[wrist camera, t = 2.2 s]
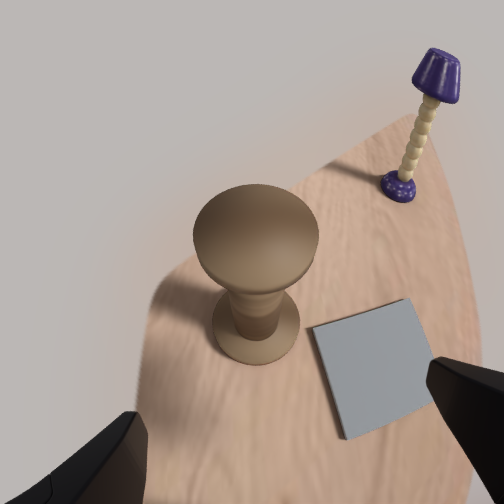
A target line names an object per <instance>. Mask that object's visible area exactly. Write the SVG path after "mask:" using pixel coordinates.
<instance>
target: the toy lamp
mask: <svg viewBox="0 0 504 504" xmlns="http://www.w3.org/2000/svg"><path fill="white" fill-rule="evenodd" d="M412 83H413V84H414V86H415V87H416V88H417V89H418V90H420V91H422V92H423V93H424V94H423V103H422V104H421V106H420V108H419V116H418V117H417V118H416V120H415V123H414V129H413V130H412V132H411V134H410V141H409V142H408V144H407V146H406V153H405V154H404V156H403V158H402V164H401V165H400V167H399V169H398V170H394V171H390V172H388V173H387V174H386V175H385V176H384V177H383V178H382V180H381V187H382V189H383V191H384V192H385V194H386V195H387V196H389V197H390V198H391V199H393V200H395V201H398V202H410V201H412V200H413V199H414V197H415V194H416V186H415V183H414V181H413V179H412V176H413V171H414V169H415V168H416V166H417V163H418V158H419V157H420V156H421V154H422V147H423V146H424V145H425V143H426V140H427V134H428V133H429V131H430V130H431V122H432V121H433V120H434V118H435V116H436V108H437V107H438V106H439V104H440V102H445V103H449V104H455V103H456V102H457V101H458V100H459V92H460V62H459V60H458V59H457V58H455V57H454V56H453V55H451V54H449V53H446V52H445V51H442V50H440V49H436V48H430V49H429V50H428V51H427V53H426V54H425V56H424V58H423V59H422V61H421V63H420V64H419V66H418V68H417V69H416V71H415V73H414V75H413V77H412Z"/></svg>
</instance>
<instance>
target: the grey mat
mask: <svg viewBox="0 0 504 504" xmlns="http://www.w3.org/2000/svg"><path fill="white" fill-rule="evenodd" d="M312 332H313V335H314V338H315V341H316V344H317V347H318V350H319V354H320V357H321V360H322V363H323V366H324V369H325V373H326V376H327V379H328V382H329V386H330V389H331V392H332V396H333V399H334V402H335V406H336V409H337V412H338V416H339V419H340V422H341V426H342V429H343V433H344V436H345V440H350V439H352V438H355V437H358V436H360V435H363V434H365V433H368V432H370V431H372V430H375V429H377V428H379V427H382V426H384V425H386V424H388V423H391V422H393V421H395V420H397V419H399V418H401V417H403V416H405V415H407V414H409V413H411V412H413V411H415V410H417V409H419V408H421V407H423V406H425V405H427V404H429V403H430V402H432V401H434V400H433V398H432V396H431V394H430V392H429V390H428V388H427V386H426V376H427V372H428V367H429V363H430V361H431V360H432V359H434V357H433V354H432V351H431V349H430V346H429V343H428V341H427V338H426V336H425V333H424V331H423V328H422V326H421V323H420V321H419V318H418V316H417V314H416V311H415V309H414V307H413V304H412V302H411V300H410V298H407V299H404V300H402V301H399V302H396V303H393V304H390V305H387V306H384V307H381V308H378V309H375V310H372V311H369V312H366V313H362V314H359V315H356V316H353V317H349V318H346V319H343V320H339V321H336V322H333V323H329V324H326V325H322V326H318V327H315V328H313V329H312Z"/></svg>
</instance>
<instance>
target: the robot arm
mask: <svg viewBox="0 0 504 504" xmlns="http://www.w3.org/2000/svg"><path fill="white" fill-rule="evenodd" d="M426 386H427V388H428V390H429V392H430V394H431V396H432V398H433V400H434V402H435V404H436V406H437V408H438V410H439V412H440V414H441V415H442V417H443V419H444V421H445V422H446V424H447V426H448V427H449V429H450V430H451V432H452V433H453V435H454V436H455V438H456V439H457V441H458V443H459V444H460V446H461V447H462V449H463V451H464V452H465V454H466V455H467V457H468V459H469V460H470V462H471V464H472V465H473V467H474V469H475V470H476V472H477V474H478V475H479V477H480V479H481V480H482V482H483V484H484V485H485V487H486V489H487V491H488V492H489V494H490V496H491V498H492V500H493V501H494V503H496V504H504V373H503V372H499V371H495V370H491V369H487V368H483V367H479V366H475V365H471V364H468V363H464V362H460V361H456V360H453V359H449V358H446V357H438V358H435V359H432V360H431V361H430V363H429V367H428V372H427V376H426ZM147 448H148V433H147V429H146V427H145V425H144V423H143V421H142V418H141V416H140V414H139V413H138V412H135V411H126V412H124V413H122V414H121V415H120V416H119V417H118V418H116V419H115V420H114V421H113V422H112V423H111V424H109V425H108V426H107V427H106V428H105V429H103V430H102V431H101V432H100V433H99V434H97V435H96V436H95V437H94V438H93V439H92V440H90V441H89V442H88V443H87V444H85V446H83V447H82V448H81V449H79V450H78V451H77V452H76V453H75V454H73V455H72V456H71V457H70V458H68V459H67V460H66V461H65V462H63V463H62V464H61V465H60V466H58V467H57V468H56V469H55V470H53V471H52V472H51V473H50V474H48V475H47V476H46V477H44V478H43V479H42V480H41V481H40V482H38V483H37V484H35V485H34V486H32V487H31V488H30V489H28V490H27V491H25V492H23V493H22V494H20V495H19V496H17V497H16V498H14V499H12V500H10V501H8V502H7V503H5V504H142V503H143V496H144V490H145V483H146V472H147Z"/></svg>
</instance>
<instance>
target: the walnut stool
mask: <svg viewBox="0 0 504 504" xmlns="http://www.w3.org/2000/svg"><path fill="white" fill-rule="evenodd" d="M318 240H319V230H318V225H317V222H316V219H315V217H314V215H313V213H312V211H311V210H310V209H309V207H308V206H307V205H306V204H305V203H304V202H303V201H302V200H301V199H300V198H298V197H297V196H295V195H294V194H292V193H290V192H288V191H286V190H284V189H281V188H278V187H274V186H270V185H262V184H261V185H260V184H251V185H242V186H238V187H234V188H231V189H228V190H226V191H224V192H222V193H220V194H218V195H217V196H215V197H214V198H213V199H211V200H210V201H209V202H208V203H207V204H206V205H205V206H204V207H203V209H202V210H201V211H200V213H199V215H198V217H197V219H196V221H195V225H194V229H193V242H194V246H195V250H196V253H197V256H198V259H199V262H200V264H201V266H202V268H203V269H204V271H205V272H206V273H207V274H208V276H209V277H210V278H211V279H213V280H214V281H215V282H216V283H218V284H219V285H221V286H222V287H224V288H226V289H228V292H226V293H225V294H224V295H223V296H222V298H221V299H220V300H219V302H218V303H217V305H216V307H215V310H214V313H213V331H214V334H215V337H216V339H217V341H218V344H219V345H220V347H221V348H222V350H223V351H224V352H225V353H226V354H227V355H228V356H229V357H231V358H232V359H234V360H236V361H238V362H240V363H243V364H247V365H255V366H256V365H265V364H269V363H272V362H274V361H277V360H278V359H280V358H282V357H283V356H284V355H285V354H286V353H287V352H288V351H289V350H290V349H291V347H292V346H293V344H294V342H295V340H296V338H297V335H298V332H299V327H300V317H299V312H298V309H297V307H296V304H295V303H294V301H293V300H292V298H291V297H290V296H289V295H288V294H287V293H286V292H285V291H284V290H285V289H286V288H288V287H289V286H291V285H293V284H294V283H296V282H297V281H298V280H299V279H301V278H302V277H303V275H304V274H305V273H306V272H307V270H308V269H309V268H310V266H311V264H312V262H313V259H314V255H315V252H316V249H317V245H318Z"/></svg>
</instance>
